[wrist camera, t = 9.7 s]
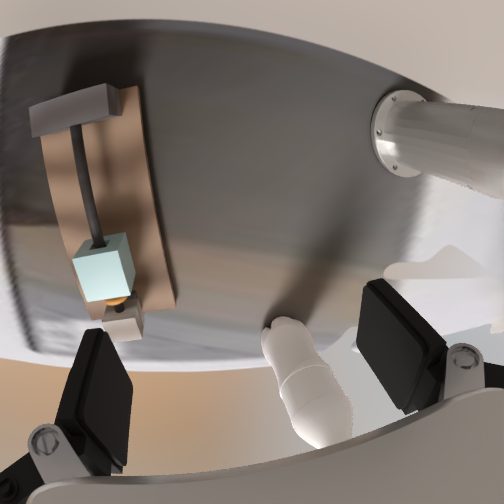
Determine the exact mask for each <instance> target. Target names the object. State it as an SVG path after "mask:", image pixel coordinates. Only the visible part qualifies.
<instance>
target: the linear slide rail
mask: <svg viewBox="0 0 504 504" xmlns="http://www.w3.org/2000/svg"><path fill="white" fill-rule="evenodd" d="M29 113H30V122H31V130H32V138H34V137H39V136H41V143H42V149H43V155H44V161H45V167H46V172H47V177H48V182H49V187H50V191H51V196H52V200H53V204H54V208H55V212H56V216H57V220H58V224H59V227H60V231H61V234H62V238H63V241H64V245H65V248H66V251H67V254H68V257H69V261H70V264H71V267H72V270H73V272H74V275H75V278H76V281H77V284H78V287H79V289H80V292H81V295H82V297H83V300H84V302H85V305H86V307H87V310H88V312H89V315H90V317H91V320H98V319H102V325H103V327H104V329H105V331H106V332H108V334H109V336H110V338H111V341H112V343H115V342H123V341H130V340H138V339H142V337H143V328H144V319H145V318H144V315H143V313H146V312H152V311H159V310H165V309H171V308H176V299H175V295H174V291H173V287H172V282H171V278H170V274H169V270H168V265H167V261H166V256H165V251H164V247H163V242H162V237H161V232H160V227H159V222H158V217H157V211H156V206H155V200H154V195H153V189H152V183H151V177H150V170H149V164H148V157H147V150H146V143H145V136H144V128H143V120H142V111H141V102H140V92H139V87H138V86H134V87H129V88H124V89H120V90H119V89H117V88H115V87H113V86H111V85H109V84H107V83H104V84H100V85H97V86H93V87H89V88H86V89H82V90H79V91H76V92H72V93H69V94H66V95H63V96H60V97H57V98H54V99H51V100H48V101H45V102H42V103H40V104H37V105H34V106H32V107H29ZM123 232H126V236H127V240H128V244H129V249H130V252H131V256H132V260H133V264H134V268H135V271H136V274H135V278H134V282H133V287H132V291H131V295H130V296H123V297H117V298H111V299H104V300H98V301H91V302H87V300H86V298H85V295H84V292H83V290H82V287H81V284H80V281H79V278H78V276H77V273H76V270H75V267H74V264H73V261H72V258H73V257H74V255H75V254H76V252H77V251H78V249H79V248H80V246H81V245H82V244H83V242H84V241H85V240H88V239H92V240H93V243H94V247H95V249H98V248H103V247H106V245H105V241H104V238H103V236H108V235H113V234H118V233H123Z"/></svg>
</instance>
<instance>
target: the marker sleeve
mask: <svg viewBox="0 0 504 504" xmlns="http://www.w3.org/2000/svg"><path fill="white" fill-rule="evenodd" d="M103 238H104V241H105V245H106V247H103V248H98V249H95V247H94V243H93V240H92V239H88V240H85V241H84V242H83V244H82V245H81V246H80V248H79V249H78V251H77V252H76V254H75V255H74V257H73V258H72V261H73V264H74V267H75V270H76V273H77V276H78V278H79V281H80V284H81V287H82V290H83V292H84V295H85V298H86V300H87V302H91V301H98V300H104V299H111V298H117V297H123V296H130V295H131V291H132V287H133V282H134V278H135V274H136V271H135V268H134V264H133V260H132V256H131V252H130V249H129V244H128V240H127V236H126V232H123V233H118V234H113V235H108V236H103Z"/></svg>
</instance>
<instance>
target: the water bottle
mask: <svg viewBox="0 0 504 504" xmlns="http://www.w3.org/2000/svg"><path fill="white" fill-rule="evenodd" d="M261 346H262V350H263V353H264V355H265V358H266V359H267V361H268V362H269V363H270V365H271V366H272V367H273V369H274V372H275V374H276V377H277V380H278V384H279V391H280V396H281V398H282V399H283V401H284V404H285V406H286V408H287V411H288V414H289V416H290V418H291V421H292V426H293V428H294V430H295V431H296V433H297V434H298V435H299V436H300V437H301V438H302V439H304V440H305V441H306V442H308V443H309V444H311V445H312V446H314V447H315V448H317V449H320V448H324V447H327V446H330V445H334V444H337V443H340V442H343V441H346V440H349V439H352V424H353V411H352V405H351V403H350V400H349V398H348V397H347V396H346V395H345V393H344V392H343V390H342V388H341V387H340V385H339V383H338V382H337V380H336V378H335V377H334V375H333V371H332V370H331V368H330V366H329V365H328V364H327V363H326V362H324V361H323V360H322V359H321V357H320V356H319V355H318V353H317V351H316V349H315V347H314V344H313V340H312V336H311V334H310V333H309V331H308V329H307V328H306V327H305V326H304V324H303V323H301V322H300V321H298V320H296V319H291V318H289V317H283V316H281V317H277V318H275V319H274V320H273V321H272V324H271V329H270V328H267V327H265V328H264V330H263V332H262V336H261Z"/></svg>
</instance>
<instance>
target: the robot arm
mask: <svg viewBox="0 0 504 504" xmlns="http://www.w3.org/2000/svg"><path fill="white" fill-rule="evenodd" d="M371 140H372V145H373V148H374V152H375V154H376V156H377V158H378V160H379V161H380V163H381V164H382V165H383V166H384V167H385V168H386V169H387V170H388V171H390V172H391V173H393V174H396V175H398V176H402V177H413V176H416V175H418V174H420V173H422V172H424V173H427V174H430V175H433V176H436V177H439V178H442V179H445V180H448V181H450V182H453V183H456V184H459V185H461V186H464V187H467V188H469V189H472V190H474V191H477V192H480V193H482V194H485V195H487V196H490V197H493V198H496V199H504V109H498V108H491V107H483V106H475V105H465V104H455V103H443V102H427V101H426V100H425V99H424V98H423V97H422V96H421V95H419V94H417V93H415V92H413V91H409V90H397V91H393V92H390V93H389V94H387V95H386V96H384V97H383V98H382V99H381V101H380V102H379V103H378V105H377V107H376V108H375V111H374V114H373V117H372V122H371ZM356 343H357V347H358V349H359V351H360V352H361V354H362V355H363V357H364V358H365V360H366V361H367V363H368V364H369V366H370V367H371V369H372V370H373V372H374V373H375V375H376V376H377V378H378V379H379V381H380V383H381V384H382V386H383V387H384V389H385V390H386V392H387V393H388V395H389V397H390V398H391V400H392V401H393V403H394V404H395V406H396V407H397V408H398V409H402V411H403V412H404V414H405V415H407V414H409V413H412V412H414V411H416V410H418V412H417V413H415V414H412V415H410V416H408V417H405V418H403V419H401V420H398V421H396V422H393V423H391V424H389V425H386V426H384V427H381V428H379V429H376V430H374V431H372V432H368V433H366V434H363V435H360V436H357V437H355V438H352V439H349V440H346V441H343V442H340V443H337V444H334V445H330V446H327V447H324V448H320V449H317V450H314V451H310V452H306V453H303V454H299V455H295V456H291V457H287V458H282V459H278V460H274V461H269V462H264V463H259V464H254V465H248V466H243V467H236V468H230V469H223V470H217V471H208V472H200V473H188V474H175V475H156V476H111V473H116V474H122V470H123V466H126V464H127V452H128V438H129V426H130V414H131V405H132V396H133V385H132V382H131V380H130V378H129V376H128V374H127V372H126V370H125V368H124V366H123V364H122V362H121V360H120V358H119V356H118V354H117V351H116V349H115V347H114V345H113V343H112V341H111V338H110V336H109V334H108V332H106V331H105V332H104V331H103V330H102V329H101V328H95V329H87V330H86V331H85V333H84V335H83V338H82V341H81V343H80V346H79V349H78V352H77V354H76V357H75V360H74V363H73V366H72V368H71V370H70V372H69V375H68V379H67V382H66V385H65V388H64V391H63V394H62V398H61V401H60V405H59V408H58V412H57V415H56V419H55V423H54V424H43V425H40V426H38V427H37V428H36V429H34V430H33V432H32V433H31V434H30V436H29V439H28V449H29V452H28V453H27V454H26V455H24V456H23V457H22V458H20V459H19V460H18V461H16V462H15V463H13V464H12V465H11V466H9V467H8V468H6V469H5V470H4V471H2V472H1V473H0V504H504V366H501V365H496V364H491V363H487V362H483V356H482V354H481V353H480V351H479V350H478V349H477V348H475V347H474V346H472V345H469V344H466V343H458V344H454V345H453V346H451V347H450V348H448V347H447V346H446V341H445V340H444V339H443V338H442V337H441V336H440V335H439V334H438V333H437V332H436V331H435V330H434V329H433V328H432V326H431V325H430V324H429V323H428V322H427V321H426V320H425V319H424V318H423V317H422V316H421V315H420V314H419V313H418V312H417V311H416V310H415V309H414V308H413V307H412V306H411V305H410V304H409V303H408V302H407V301H406V300H405V299H404V298H403V297H402V296H401V295H400V294H399V293H398V292H397V291H396V290H395V289H394V288H393V287H392V286H391V285H390V284H389V283H387V282H386V281H385V280H384V279H383V278H380V279H376V280H372V281H369V282H367V285H366V286H364V288H363V294H362V302H361V310H360V318H359V325H358V332H357V338H356Z"/></svg>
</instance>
